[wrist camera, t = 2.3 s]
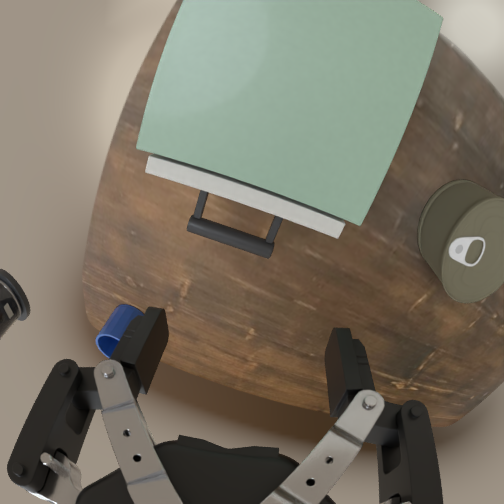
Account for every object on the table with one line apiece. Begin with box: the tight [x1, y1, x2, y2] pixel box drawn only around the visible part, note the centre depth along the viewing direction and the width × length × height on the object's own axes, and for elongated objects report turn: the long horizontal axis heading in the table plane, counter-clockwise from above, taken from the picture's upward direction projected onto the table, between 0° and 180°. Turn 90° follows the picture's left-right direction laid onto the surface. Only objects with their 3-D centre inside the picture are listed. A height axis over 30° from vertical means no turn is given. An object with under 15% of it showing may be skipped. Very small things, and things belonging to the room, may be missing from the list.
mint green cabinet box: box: [136, 0, 443, 226], centre depth 17 cm, size 16×15×11 cm
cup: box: [96, 304, 144, 358], centre depth 35 cm, size 6×6×6 cm
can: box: [417, 180, 504, 303], centre depth 24 cm, size 12×12×7 cm
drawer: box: [145, 154, 345, 259], centre depth 20 cm, size 20×14×9 cm
